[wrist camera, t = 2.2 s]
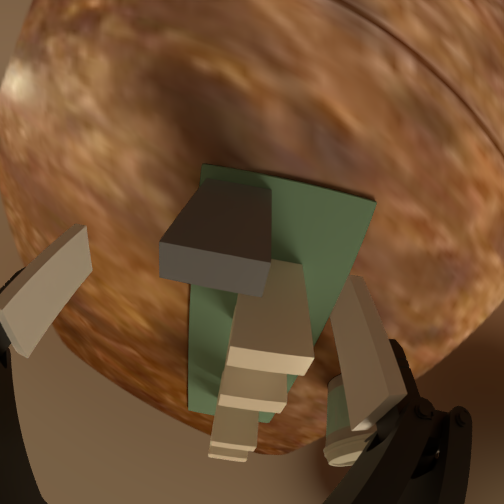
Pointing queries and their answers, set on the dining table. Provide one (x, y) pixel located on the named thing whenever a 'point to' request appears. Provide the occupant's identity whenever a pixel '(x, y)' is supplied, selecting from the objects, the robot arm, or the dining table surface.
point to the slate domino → (221, 239)
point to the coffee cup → (342, 428)
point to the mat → (284, 249)
